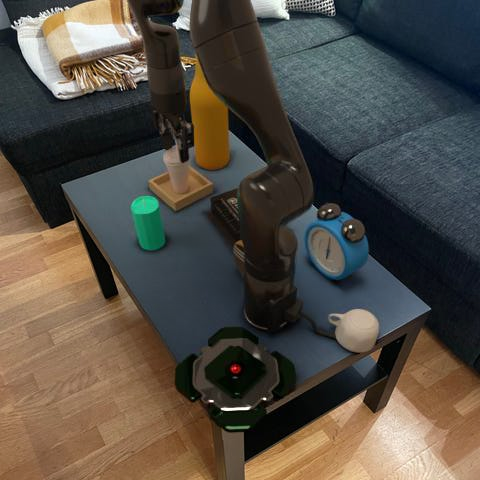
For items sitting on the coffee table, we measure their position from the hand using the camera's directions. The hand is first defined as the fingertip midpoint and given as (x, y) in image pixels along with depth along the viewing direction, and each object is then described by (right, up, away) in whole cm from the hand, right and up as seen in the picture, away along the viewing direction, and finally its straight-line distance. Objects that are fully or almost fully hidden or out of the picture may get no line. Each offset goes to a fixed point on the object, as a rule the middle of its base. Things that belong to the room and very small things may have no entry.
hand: (176, 154), depth 112 cm
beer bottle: (+8, +4, +16) cm, 18 cm away
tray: (0, -6, +8) cm, 10 cm away
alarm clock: (+35, -28, -9) cm, 46 cm away
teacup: (+37, -38, -25) cm, 59 cm away
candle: (-5, -21, -3) cm, 22 cm away
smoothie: (0, -6, +8) cm, 10 cm away
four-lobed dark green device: (+14, -50, -26) cm, 59 cm away
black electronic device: (+17, -18, -1) cm, 25 cm away
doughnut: (+17, -30, -10) cm, 36 cm away
